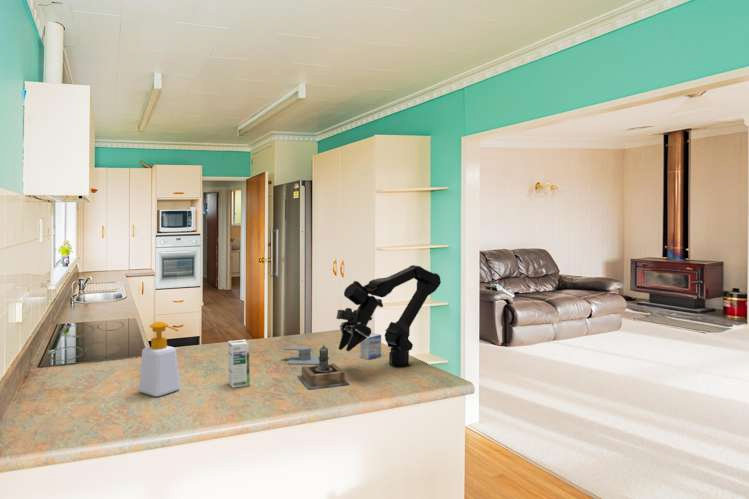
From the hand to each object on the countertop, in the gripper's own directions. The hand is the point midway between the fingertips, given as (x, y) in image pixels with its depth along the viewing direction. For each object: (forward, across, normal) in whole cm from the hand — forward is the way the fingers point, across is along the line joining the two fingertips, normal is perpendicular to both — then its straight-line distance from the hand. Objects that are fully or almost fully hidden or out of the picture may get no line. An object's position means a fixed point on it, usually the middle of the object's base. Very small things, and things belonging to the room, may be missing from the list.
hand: (343, 350), depth 191 cm
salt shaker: (+12, +2, -1) cm, 12 cm away
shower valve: (+9, -25, -5) cm, 27 cm away
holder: (+13, +2, -2) cm, 13 cm away
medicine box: (-5, -22, +18) cm, 29 cm away
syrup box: (+27, -3, -24) cm, 37 cm away
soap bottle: (+40, -2, -43) cm, 59 cm away
